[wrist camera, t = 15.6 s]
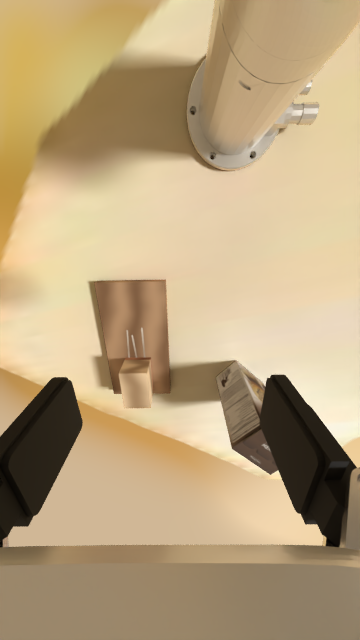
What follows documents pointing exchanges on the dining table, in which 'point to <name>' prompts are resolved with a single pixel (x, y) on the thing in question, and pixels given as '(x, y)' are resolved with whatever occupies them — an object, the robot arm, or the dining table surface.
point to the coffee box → (245, 414)
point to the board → (135, 327)
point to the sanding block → (136, 382)
